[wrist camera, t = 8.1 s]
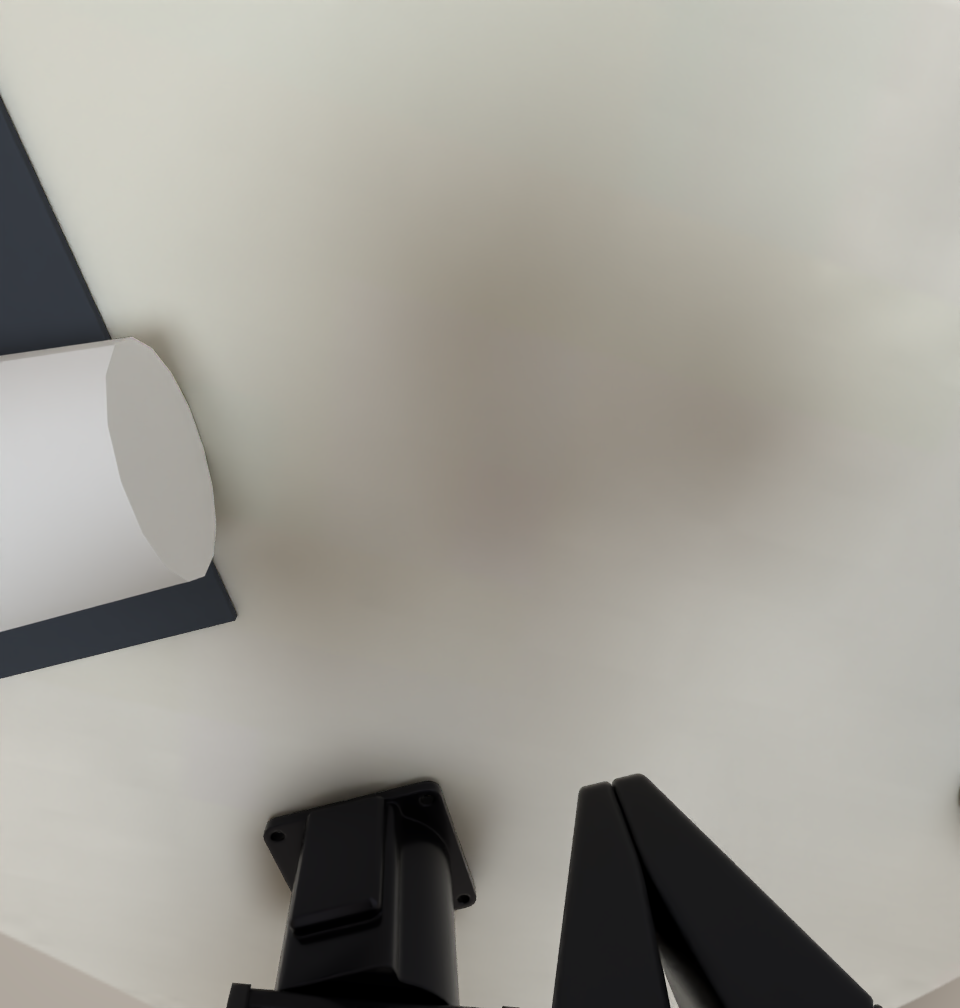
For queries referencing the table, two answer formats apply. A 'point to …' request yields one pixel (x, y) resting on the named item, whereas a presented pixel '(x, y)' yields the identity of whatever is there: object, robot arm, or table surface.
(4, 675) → the rubber mat
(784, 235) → the table surface
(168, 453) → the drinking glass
